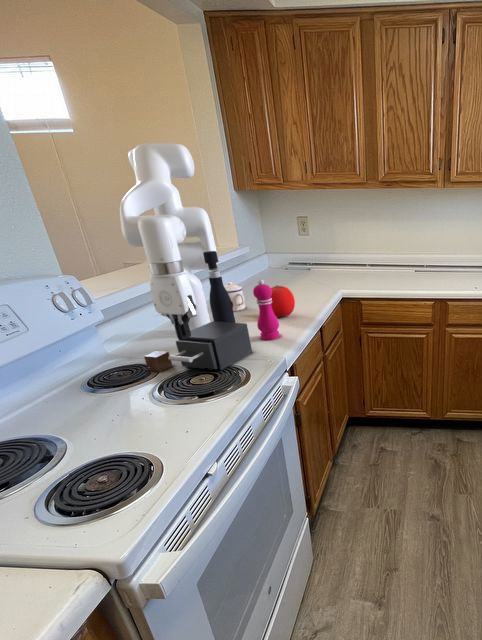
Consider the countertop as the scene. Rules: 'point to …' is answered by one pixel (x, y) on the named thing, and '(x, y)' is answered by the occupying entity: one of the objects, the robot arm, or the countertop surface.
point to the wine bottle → (218, 291)
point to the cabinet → (225, 341)
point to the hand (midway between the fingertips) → (184, 337)
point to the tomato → (282, 301)
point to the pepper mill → (266, 312)
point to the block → (158, 361)
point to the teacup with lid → (235, 296)
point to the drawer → (195, 354)
